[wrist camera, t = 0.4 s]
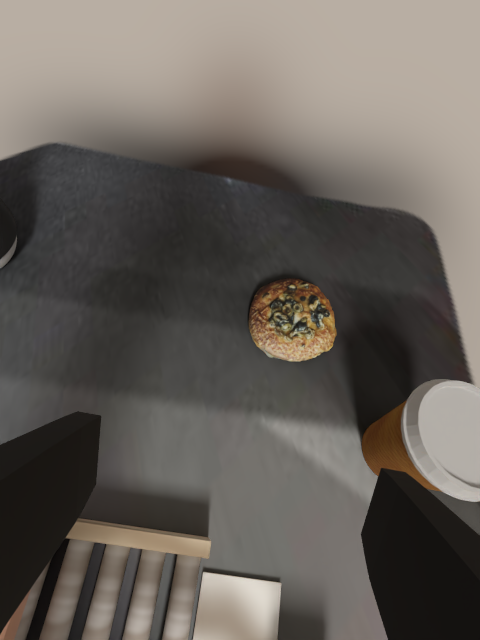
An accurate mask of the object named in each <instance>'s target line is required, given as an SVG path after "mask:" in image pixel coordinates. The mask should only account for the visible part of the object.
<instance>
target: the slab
mask: <svg viewBox="0 0 480 640" xmlns="http://www.w3.org/2000/svg"><path fill="white" fill-rule="evenodd" d="M30 590H31V589H30ZM29 594H30V591H29V592H28V593H27V595H26V596H25V598H24V599H23V601H22V602H21V604H20V605H19V607H18V608H17V610H16V611H15V613H14V614H13V615H12V617H11V618H10V620H9V621H8V623H7V624H6V626H5V628H4V629H3V631H2V632H1V634H0V640H14V639H15V636H16V633H17V630H18V627H19V624H20V621H21V618H22V615H23V612H24V609H25V606H26V603H27V600H28V597H29Z"/></svg>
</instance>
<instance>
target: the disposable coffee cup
mask: <svg viewBox="0 0 480 640" xmlns="http://www.w3.org/2000/svg"><path fill="white" fill-rule="evenodd" d="M362 451H363V456H364V458H365V461H366V463H367V464H368V466H369V467H370V469H371V470H372V471H373V472H374V473H375V474H376V475H377V476H379V473H380V470H381V468H386V469H391V470H397V471H402V472H406V473H407V474H409V475H410V476H411V477H413V478H414V479H415V480H416V481H418V482H419V483H420V484H421V485H422V486H424V487H425V488H426V489H431V490H437V491H442V492H444V493H446V494H448V495H450V496H452V497H454V498H457V499H461V500H466V501H473V502H477V501H480V388H478V387H476V386H474V385H472V384H469V383H466V382H462V381H452V380H447V379H437V380H431V381H428V382H425V383H424V384H422V385H420V386H419V387H417V388H416V389H415V390H414V391H413V392H412V393H411V395H410V396H409V398H408V399H407V400H406V401H405V402H403V403H402V404H400V405H399V406H397V407H396V408H394V409H393V410H392V411H390V412H389V413H388V414H386V415H385V416H383V417H382V418H380V419H379V420H377V421H376V422H374V423H373V424H371V425H370V426H369V427H368V428H367V429H366V431H365V433H364V435H363V439H362Z"/></svg>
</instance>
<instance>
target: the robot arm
mask: <svg viewBox="0 0 480 640" xmlns="http://www.w3.org/2000/svg"><path fill="white" fill-rule="evenodd" d="M100 423H101V416H100V415H94V414H89V413H83V412H75V413H72V414H70V415H67V416H65V417H62V418H60V419H58V420H56V421H53V422H51V423H49V424H46V425H44V426H42V427H40V428H38V429H35V430H33V431H31V432H29V433H26V434H24V435H22V436H20V437H17V438H15V439H13V440H10V441H8V442H6V443H4V444H1V445H0V634H1V632H2V631H3V629H4V628H5V626H6V624H7V623H8V621H9V620H10V618H11V617H12V615H13V614H14V613H15V611H16V610H17V608H18V607H19V605H20V604H21V602H22V601H23V599H24V598H25V596H26V595H27V593H28V592H29V591H30V589H31V588H32V586H33V585H34V583H35V582H36V580H37V579H38V577H39V576H40V574H41V573H42V572H43V570H44V569H45V567H46V566H47V564H48V563H49V561H50V560H51V558H52V557H53V555H54V554H55V553H56V551H57V550H58V548H59V547H60V545H61V544H62V542H63V541H64V539H65V538H66V536H67V535H68V533H69V532H70V530H71V529H72V527H73V526H74V524H75V523H76V521H77V519H78V517H79V515H80V513H81V512H82V510H83V508H84V506H85V504H86V502H87V500H88V498H89V496H90V494H91V492H92V490H93V488H94V486H95V485H96V476H97V463H98V450H99V436H100ZM361 537H362V543H363V548H364V554H365V559H366V564H367V569H368V574H369V579H370V582H371V586H372V589H373V592H374V596H375V599H376V602H377V605H378V609H379V612H380V615H381V618H382V622H383V625H384V628H385V631H386V634H387V637H388V640H480V535H478V534H477V533H476V532H475V531H474V530H473V529H471V528H470V527H469V526H468V525H467V524H466V523H465V522H463V521H462V520H461V519H460V518H459V517H458V516H457V515H456V514H454V513H453V512H452V511H451V510H450V509H449V508H448V507H446V506H445V505H444V504H443V503H442V502H441V501H440V500H439V499H437V498H436V497H435V496H434V495H433V494H432V493H431V492H429V491H428V490H427V489H426V488H425V487H424V486H422V485H421V484H420V483H419V482H418V481H416V480H415V479H414V478H413V477H411V476H410V475H409V474H407V473H406V472H402V471H397V470H391V469H386V468H381V470H380V473H379V476H378V480H377V483H376V486H375V490H374V493H373V496H372V499H371V503H370V506H369V509H368V513H367V516H366V519H365V523H364V526H363V529H362V532H361Z"/></svg>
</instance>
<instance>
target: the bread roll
mask: <svg viewBox="0 0 480 640" xmlns="http://www.w3.org/2000/svg"><path fill="white" fill-rule="evenodd" d="M249 329H250V333H251V336H252V339H253V341H254V343H255V344H256V346H257V347H259V348H260V349H262V350H263V351H264V353H265V354H266V355H267V356H268V357H275V358H279V359H283V360H288V361H302V360H308V359H311V358H313V357H314V358H315V357H316V356H318V355H320V354H321V353H322V352H324V351H329V350H330V349H331V348H332V346H333V342H334V337H335V336H336V329H335V320H334V313H333V310H332V308H331V306H330V303H329V300H328V299H326V297H325V296H324V294H323V293H322V292H321V291H320V289H319V288H318V287H317V286H315V285H313V284H310V283H308V282H305V281H302V280H299V279H294V278H293V279H290V278H287V279H282V280H278V281H275V282H272V283H269V284H267V285H266V286H263V287H261V288H260V289H259V290H258V292H257V293H256V294H255V296H254V299H253V301H252V304H251V308H250V313H249Z"/></svg>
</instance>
